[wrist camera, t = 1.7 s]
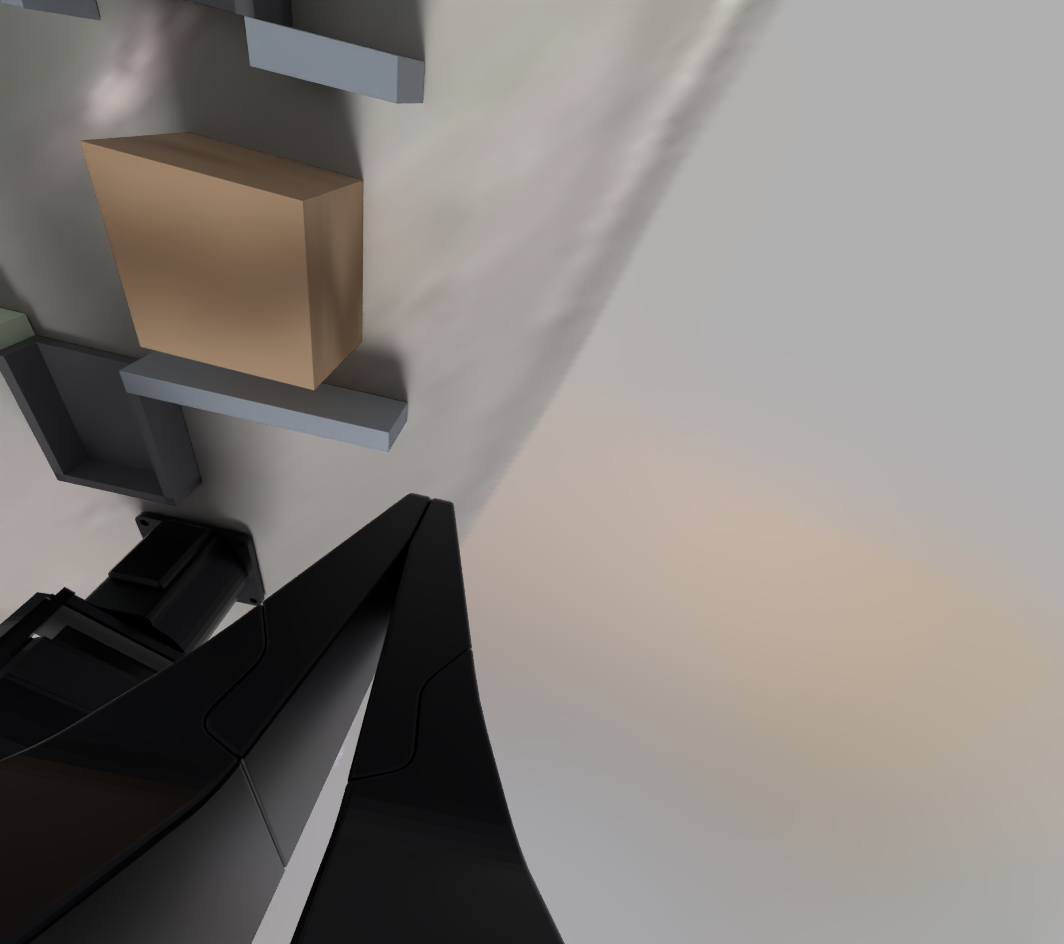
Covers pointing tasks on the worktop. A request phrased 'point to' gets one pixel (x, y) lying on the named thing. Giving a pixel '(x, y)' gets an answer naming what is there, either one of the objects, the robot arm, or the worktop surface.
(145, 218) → the walnut block
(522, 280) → the worktop surface
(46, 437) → the box
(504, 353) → the worktop surface
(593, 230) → the worktop surface
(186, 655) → the robot arm
